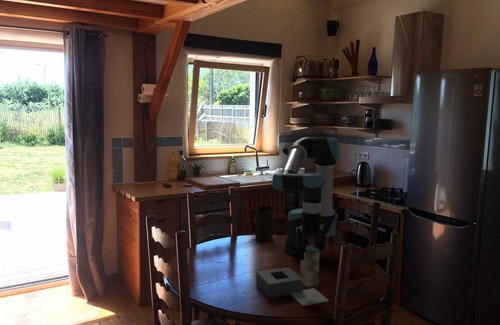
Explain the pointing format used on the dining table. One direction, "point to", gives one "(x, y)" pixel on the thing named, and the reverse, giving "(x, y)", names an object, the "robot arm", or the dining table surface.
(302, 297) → the coaster
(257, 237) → the beer stein
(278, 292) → the block
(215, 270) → the dining table surface
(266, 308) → the dining table surface
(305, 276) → the teal and tan block
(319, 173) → the robot arm
